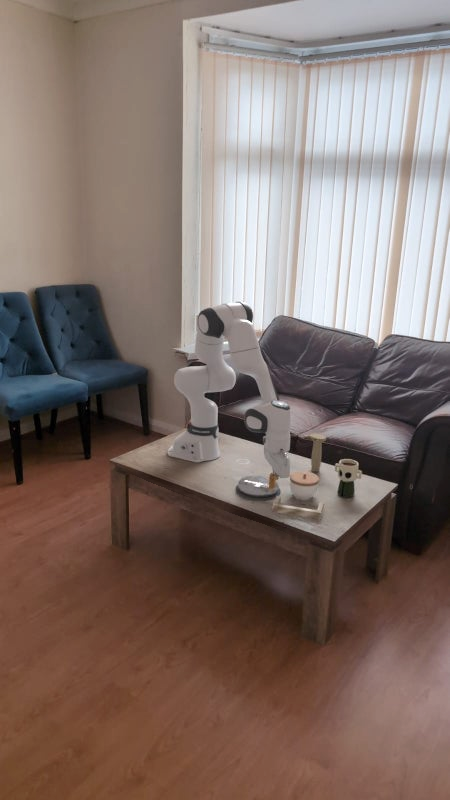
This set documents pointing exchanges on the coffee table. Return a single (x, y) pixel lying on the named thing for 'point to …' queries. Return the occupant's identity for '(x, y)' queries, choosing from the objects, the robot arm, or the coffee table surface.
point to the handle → (316, 451)
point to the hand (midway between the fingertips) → (275, 478)
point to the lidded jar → (304, 485)
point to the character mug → (347, 476)
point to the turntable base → (257, 498)
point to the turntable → (258, 486)
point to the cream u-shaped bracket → (297, 510)
